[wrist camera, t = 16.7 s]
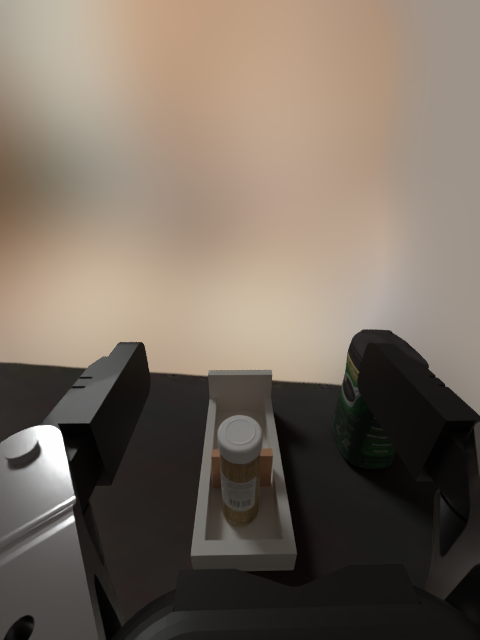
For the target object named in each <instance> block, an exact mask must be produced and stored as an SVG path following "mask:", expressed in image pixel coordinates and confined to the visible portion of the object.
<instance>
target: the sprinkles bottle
mask: <svg viewBox="0 0 480 640" xmlns="http://www.w3.org/2000/svg"><path fill="white" fill-rule="evenodd" d="M262 441H263V435H262V429H261V427H260V425H259V424H258V423H257V421H255V420H254V419H252V418H251V417H248V416H244V415H236V416H232V417H229V418H227V419H226V420H225V421H223V422H222V423H221V425H220V427H219V429H218V433H217V442H218V449H219V452H220V472H221V489H222V497H223V502H222V511H223V514H224V516H225V518H226V520H227V521H228V522H229V523H231V524H232V525H234V526H239V527H242V526H247V525H248V524H250V523H251V522H253V520H254V519H255V518H256V516H257V514H258V509H259V504H258V496H259V484H260V474H259V472H260V453H261V450H262Z"/></svg>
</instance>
